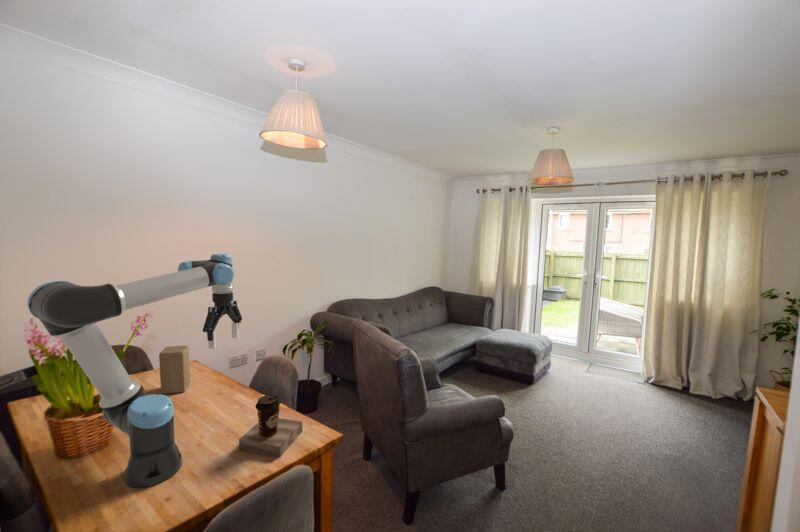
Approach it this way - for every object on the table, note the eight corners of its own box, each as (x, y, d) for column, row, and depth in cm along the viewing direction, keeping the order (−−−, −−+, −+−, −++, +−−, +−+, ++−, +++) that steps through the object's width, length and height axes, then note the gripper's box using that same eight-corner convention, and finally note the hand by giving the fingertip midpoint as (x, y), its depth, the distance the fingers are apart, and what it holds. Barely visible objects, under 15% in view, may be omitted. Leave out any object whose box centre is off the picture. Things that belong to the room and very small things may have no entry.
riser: (280, 457, 122) (280, 446, 121) (239, 449, 125) (238, 439, 125) (302, 431, 137) (302, 421, 137) (265, 425, 141) (265, 416, 140)
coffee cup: (285, 427, 133) (284, 394, 131) (275, 440, 124) (274, 405, 123) (262, 425, 133) (262, 392, 132) (251, 438, 125) (250, 403, 124)
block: (167, 385, 173) (165, 346, 171) (190, 383, 176) (188, 344, 174) (160, 395, 163) (158, 353, 161) (184, 392, 166) (183, 351, 164)
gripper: (207, 298, 130) (209, 354, 133) (250, 287, 155) (251, 334, 157) (190, 297, 132) (192, 352, 134) (235, 286, 156) (236, 333, 158)
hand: (224, 342), depth 146 cm, fingers open, 13 cm apart
